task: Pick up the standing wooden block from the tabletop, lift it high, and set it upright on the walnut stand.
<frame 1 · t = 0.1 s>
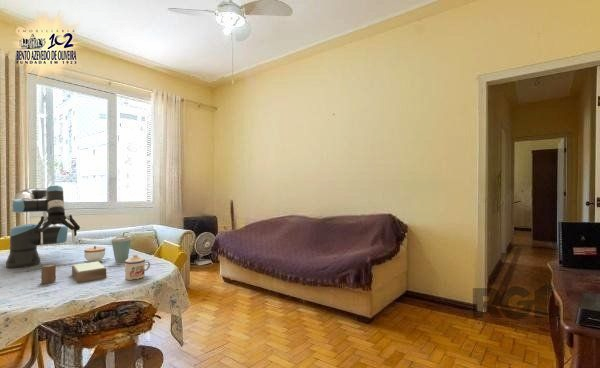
hand: (58, 242, 165), 15 cm above the table, tool tilted 35°, fingers open, 13 cm apart
disposable coffee cup: (121, 261, 187), on the table
teacup with lid: (138, 277, 155), on the table
wooden block: (48, 282, 146), on the table
lidded jar: (94, 261, 186), on the table
walnut stand: (88, 275, 157), on the table
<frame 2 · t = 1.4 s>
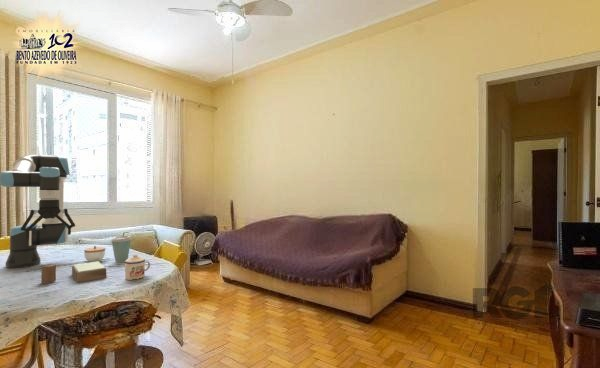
hand: (48, 243, 146), 19 cm above the table, tool pointing down, fingers open, 13 cm apart
nothing on the table moved.
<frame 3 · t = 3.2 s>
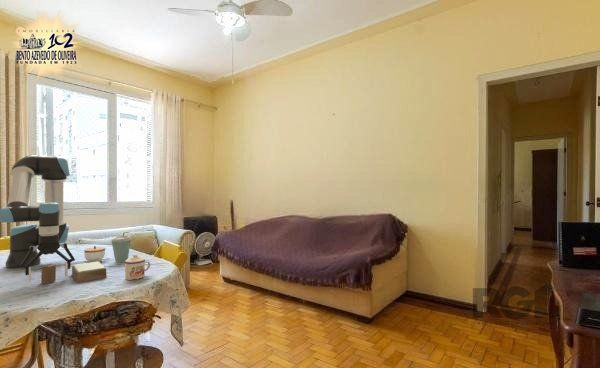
hand: (48, 278, 146), 2 cm above the table, tool pointing down, fingers open, 13 cm apart
nothing on the table moved.
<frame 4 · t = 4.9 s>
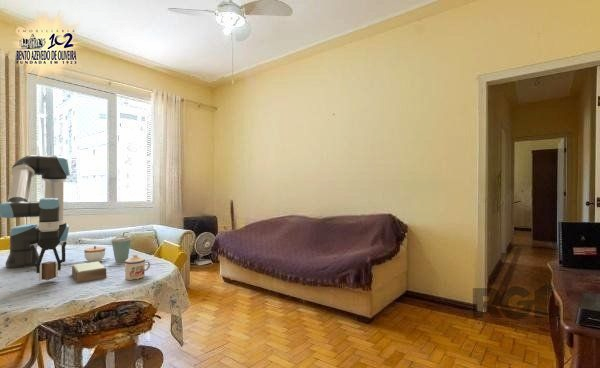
hand: (48, 278, 147), 2 cm above the table, tool pointing down, fingers closed on wooden block, 5 cm apart
wooden block: (48, 279, 147), point 1 cm above the table, touching gripper
everything else where it was.
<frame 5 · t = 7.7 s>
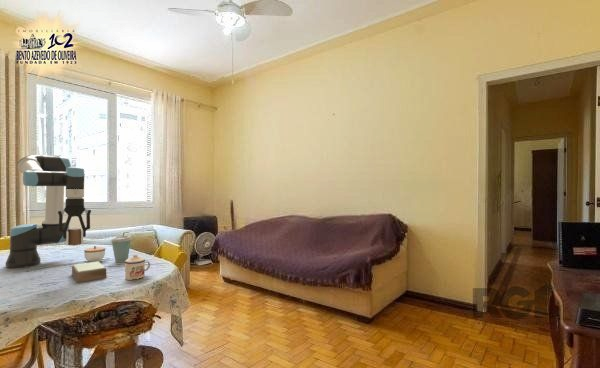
hand: (74, 244, 153), 17 cm above the table, tool pointing down, fingers closed on wooden block, 5 cm apart
wooden block: (74, 245, 153), point 17 cm above the table, touching gripper
everything else where it was.
when the fingers open (6 cm above the table, at t = 10.8 s): wooden block stays where it is, resting on walnut stand.
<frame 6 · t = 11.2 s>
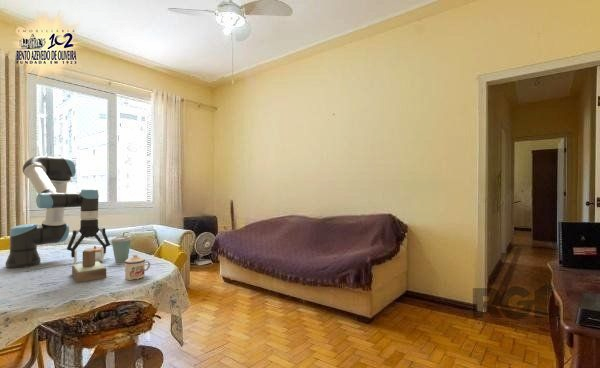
hand: (89, 261, 157), 7 cm above the table, tool pointing down, fingers open, 11 cm apart
wooden block: (88, 266, 157), point 5 cm above the table, touching walnut stand
everything else where it was.
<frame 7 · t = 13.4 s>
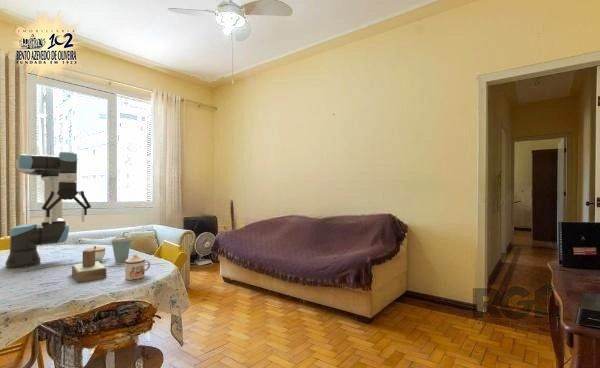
hand: (67, 222, 159), 27 cm above the table, tool pointing down, fingers open, 13 cm apart
nothing on the table moved.
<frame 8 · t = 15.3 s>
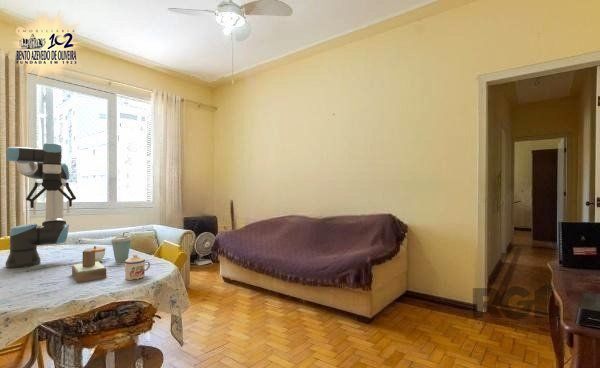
hand: (51, 213, 159), 32 cm above the table, tool pointing down, fingers open, 13 cm apart
nothing on the table moved.
at the end: wooden block inside the target area on the walnut stand (0.4 cm from its centre), point 4.8 cm above the walnut stand's base; wooden block tilted 0°; the gripper is holding nothing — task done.
